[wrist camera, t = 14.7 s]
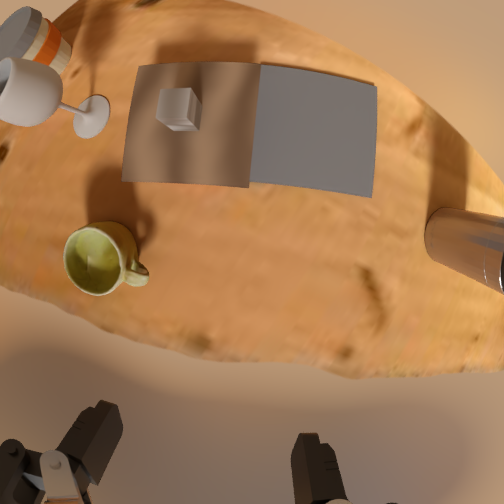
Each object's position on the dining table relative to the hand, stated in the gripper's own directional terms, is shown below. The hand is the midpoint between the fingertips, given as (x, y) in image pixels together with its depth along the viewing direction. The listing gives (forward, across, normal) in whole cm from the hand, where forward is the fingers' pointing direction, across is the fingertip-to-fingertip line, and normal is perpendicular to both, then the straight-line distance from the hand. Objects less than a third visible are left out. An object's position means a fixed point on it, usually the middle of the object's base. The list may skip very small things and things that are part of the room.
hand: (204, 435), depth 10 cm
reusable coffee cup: (+29, +39, -33) cm, 59 cm away
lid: (+23, +8, -18) cm, 30 cm away
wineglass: (+29, +26, -20) cm, 44 cm away
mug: (+29, +17, +1) cm, 34 cm away
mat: (+29, -8, -20) cm, 36 cm away
